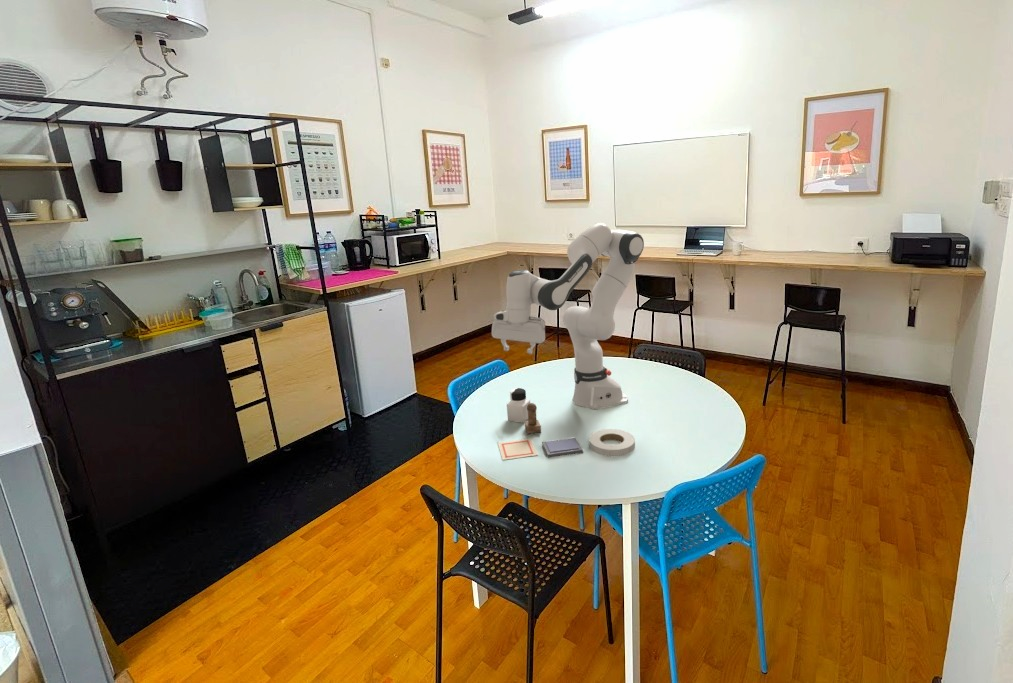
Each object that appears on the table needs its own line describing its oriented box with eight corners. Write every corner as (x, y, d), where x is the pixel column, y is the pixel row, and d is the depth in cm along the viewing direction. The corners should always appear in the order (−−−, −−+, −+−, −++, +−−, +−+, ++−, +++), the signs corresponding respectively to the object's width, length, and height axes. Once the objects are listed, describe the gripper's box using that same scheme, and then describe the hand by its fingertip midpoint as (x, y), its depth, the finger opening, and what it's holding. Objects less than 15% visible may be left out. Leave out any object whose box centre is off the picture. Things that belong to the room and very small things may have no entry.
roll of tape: (586, 436, 184) (586, 429, 183) (629, 434, 183) (629, 427, 182) (592, 458, 169) (592, 451, 168) (639, 456, 168) (639, 448, 168)
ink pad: (575, 440, 181) (575, 436, 180) (583, 453, 172) (582, 449, 172) (542, 445, 179) (542, 441, 179) (548, 457, 171) (547, 453, 170)
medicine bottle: (531, 415, 203) (529, 387, 199) (524, 423, 197) (522, 394, 193) (514, 413, 206) (513, 385, 202) (507, 420, 200) (505, 392, 196)
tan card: (530, 439, 184) (530, 438, 184) (537, 455, 173) (537, 454, 173) (497, 443, 183) (497, 442, 183) (502, 460, 171) (502, 459, 171)
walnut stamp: (538, 427, 193) (536, 400, 190) (541, 433, 188) (539, 405, 185) (525, 428, 192) (523, 401, 189) (527, 434, 187) (525, 407, 184)
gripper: (548, 316, 184) (547, 353, 188) (497, 311, 192) (497, 346, 196) (542, 319, 179) (541, 357, 182) (489, 314, 187) (489, 351, 190)
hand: (518, 352), depth 189 cm, fingers open, 8 cm apart
